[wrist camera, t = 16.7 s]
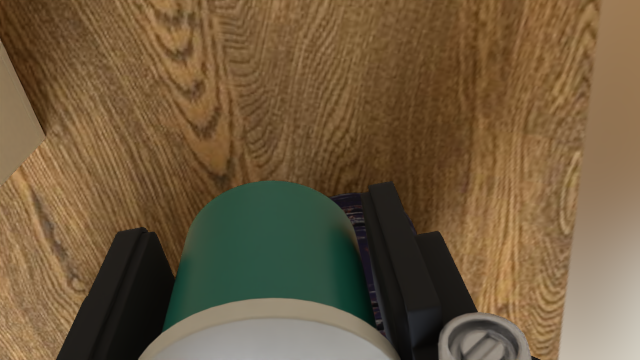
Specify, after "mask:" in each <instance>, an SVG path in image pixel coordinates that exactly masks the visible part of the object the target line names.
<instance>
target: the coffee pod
mask: <svg viewBox="0 0 640 360" xmlns="http://www.w3.org/2000/svg"><path fill="white" fill-rule="evenodd" d="M138 360H401V358H400V357H399V355H398V353H397V351H396V350H395V349H394V347H393V346H392V345H391V343H390V342H389V341H388V340H387V339H386V338H385V337H384V336H383V335H382V334H381V333H380V332H379V331H378V329H377V325H376V321H375V316H374V312H373V308H372V303H371V299H370V294H369V290H368V286H367V281H366V277H365V273H364V268H363V264H362V259H361V255H360V251H359V246H358V242H357V238H356V234H355V231H354V228H353V226H352V224H351V222H350V220H349V218H348V217H347V216H346V214H345V213H344V211H343V210H342V209H341V208H340V207H339V206H338V205H337V204H336V203H335V202H333V201H332V200H331V199H330V198H328V197H327V196H325V195H323V194H322V193H320V192H318V191H316V190H314V189H312V188H309V187H307V186H303V185H300V184H297V183H292V182H286V181H259V182H252V183H248V184H244V185H240V186H237V187H235V188H232V189H230V190H228V191H226V192H224V193H222V194H221V195H219V196H217V197H216V198H214V199H213V200H212V201H210V202H209V203H208V204H207V205H206V206H205V207H204V208H203V209H202V210H201V211H200V212H199V213H198V215H197V216H196V217H195V219H194V220H193V222H192V224H191V226H190V228H189V231H188V234H187V237H186V240H185V244H184V248H183V252H182V256H181V260H180V264H179V267H178V271H177V275H176V279H175V283H174V287H173V291H172V294H171V298H170V302H169V306H168V310H167V314H166V318H165V321H164V325H163V329H162V333H161V335H160V336H159V337H157V338H156V339H155V340H154V341H153V342H152V343H151V344H150V345H149V346H148V347H147V348H146V350H145V351H144V352H143V353H142V355H141V356H140V357H139V359H138Z"/></svg>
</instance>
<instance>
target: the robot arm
mask: <svg viewBox="0 0 640 360" xmlns="http://www.w3.org/2000/svg"><path fill="white" fill-rule="evenodd" d="M368 188H369V192H365V193H360V195H361V203H362V209H363V215H364V222H365V228H366V235H367V241H368V248H369V254H370V261H371V267H372V274H373V280H374V286H375V292H376V296H377V301H378V305H379V309H380V313H381V317H382V321H383V325H384V330H385V334H386V338H387V340H388V341H389V342H390V343H391V345H392V346H393V347H394V349H395V350H396V351H397V353H398V355H399V357H400V358H401V360H540V359H538V358H535V357H533V356H531V354H530V350H529V345H528V343H527V340H526V338H525V335H524V334H523V333H522V332H521V330H520V329H519V328H518V327H517V326H516V325H515V324H513V323H512V322H510V321H508V320H507V319H505V318H503V317H500V316H497V315H494V314H490V313H481V312H478V311H477V309H476V307H475V305H474V303H473V301H472V299H471V296H470V294H469V292H468V290H467V288H466V286H465V284H464V282H463V279H462V277H461V275H460V273H459V271H458V269H457V267H456V265H455V263H454V260H453V258H452V256H451V254H450V252H449V250H448V248H447V246H446V244H445V241H444V239H443V237H442V235H441V234H440V232H438V231H435V232H429V233H424V234H418V235H414V234H413V232H412V229H411V227H410V224H409V222H408V219H407V217H406V214H405V211H404V209H403V206H402V204H401V201H400V199H399V196H398V194H397V191H396V189H395V186H394V184H393V182H392V181H390V182H384V183H379V184H374V185H369V186H368ZM174 283H175V278H174V276H173V273H172V271H171V269H170V266H169V264H168V261H167V259H166V256H165V254H164V251H163V249H162V246H161V244H160V241H159V239H158V237H157V235H156V233H155V232H148V230H147V229H146V228H144V227H140V228H135V229H129V230H124V231H119V232H118V233H117V234H116V236H115V238H114V240H113V242H112V244H111V247H110V249H109V251H108V253H107V255H106V257H105V260H104V262H103V264H102V266H101V268H100V270H99V273H98V275H97V277H96V279H95V281H94V283H93V285H92V288H91V290H90V292H89V294H88V296H87V297H86V298H85V300H84V301H83V303H82V305H81V307H80V310H79V312H78V314H77V316H76V318H75V320H74V322H73V324H72V327H71V329H70V331H69V333H68V335H67V337H66V339H65V342H64V344H63V346H62V348H61V350H60V352H59V354H58V357H57V359H56V360H138V359H139V357H140V356H141V355H142V353H143V352H144V351H145V350H146V348H147V347H148V346H149V345H150V344H151V343H152V342H153V341H154V340H155V339H156V338H157V337H159V336H160V335H161V333H162V329H163V325H164V321H165V318H166V314H167V310H168V306H169V302H170V298H171V294H172V291H173V287H174Z"/></svg>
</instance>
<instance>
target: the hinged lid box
mask: <svg viewBox="0 0 640 360" xmlns="http://www.w3.org/2000/svg"><path fill="white" fill-rule="evenodd" d="M45 139H46V137H45V135H44V133H43V130H42V128H41V126H40V124H39V122H38V120H37V117H36V115H35V113H34V111H33V109H32V107H31V104H30V102H29V100H28V98H27V96H26V93H25V91H24V89H23V87H22V85H21V83H20V80H19V78H18V76H17V74H16V72H15V70H14V67H13V65H12V63H11V61H10V59H9V57H8V54H7V52H6V50H5V48H4V46H3V44H2V41H1V39H0V186H1V185H2V184H3V183H4V182H5V181H6V180H7V179H8V178H9V177H10V176H11V175H12V174H13V173H14V172H15V171H16V170H17V168H18V167H19V166H20V165H21V164H22V163H23V162H24V161H25V160H26V159H27V158H28V157H29V156H30V155H31V154H32V153H33V152H34V151H35V149H36V148H37V147H38V146H39V145H40V144H41V143H42V142H43V141H44V140H45Z"/></svg>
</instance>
